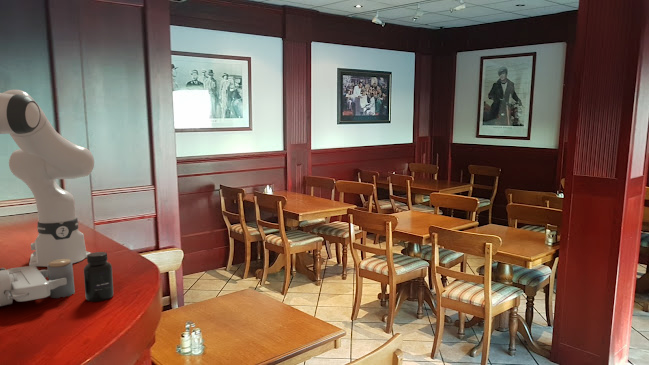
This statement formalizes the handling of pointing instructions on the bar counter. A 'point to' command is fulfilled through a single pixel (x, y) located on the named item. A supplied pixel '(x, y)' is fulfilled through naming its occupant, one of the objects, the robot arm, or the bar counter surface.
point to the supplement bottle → (98, 277)
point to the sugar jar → (58, 271)
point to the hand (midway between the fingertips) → (62, 276)
